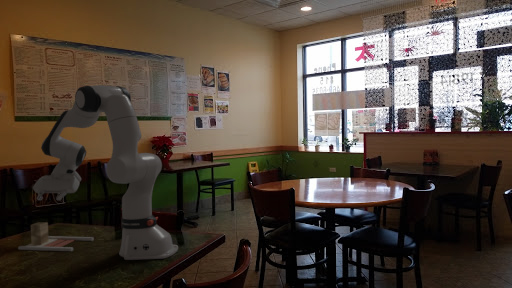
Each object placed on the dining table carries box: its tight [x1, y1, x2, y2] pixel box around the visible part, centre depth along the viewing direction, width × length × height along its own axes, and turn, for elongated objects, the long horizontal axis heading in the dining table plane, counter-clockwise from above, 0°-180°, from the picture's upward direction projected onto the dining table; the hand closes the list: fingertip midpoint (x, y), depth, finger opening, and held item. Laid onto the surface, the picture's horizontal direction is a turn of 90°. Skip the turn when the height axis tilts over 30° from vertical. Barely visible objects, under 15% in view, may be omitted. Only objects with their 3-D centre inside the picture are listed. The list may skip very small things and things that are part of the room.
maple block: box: [30, 221, 49, 245], centre depth 156 cm, size 4×4×8 cm
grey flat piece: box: [17, 235, 95, 252], centre depth 154 cm, size 24×15×1 cm, turn 82°
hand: (48, 199), depth 161 cm, fingers open, 8 cm apart
